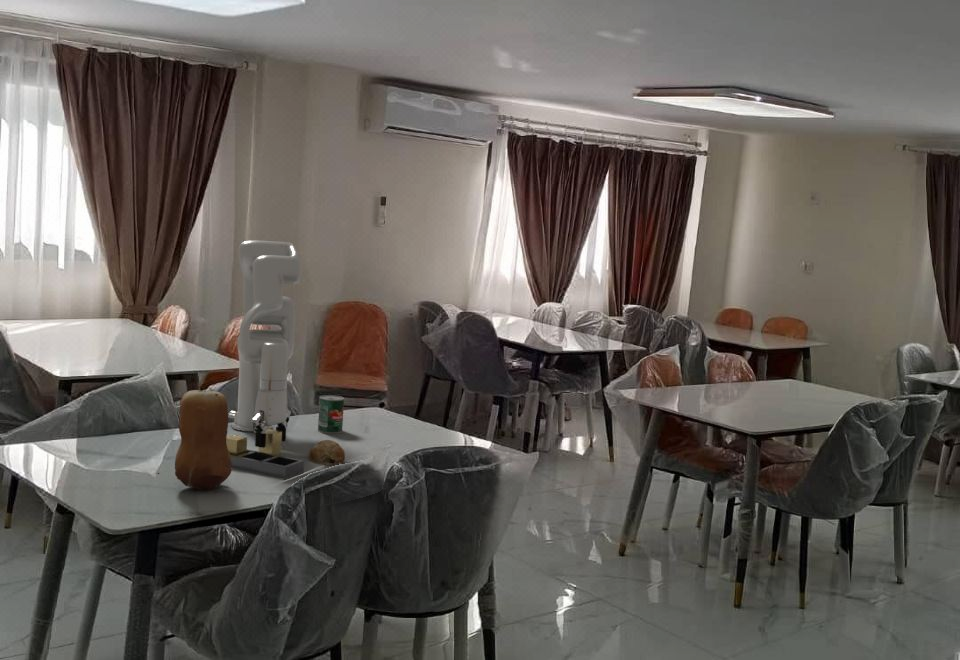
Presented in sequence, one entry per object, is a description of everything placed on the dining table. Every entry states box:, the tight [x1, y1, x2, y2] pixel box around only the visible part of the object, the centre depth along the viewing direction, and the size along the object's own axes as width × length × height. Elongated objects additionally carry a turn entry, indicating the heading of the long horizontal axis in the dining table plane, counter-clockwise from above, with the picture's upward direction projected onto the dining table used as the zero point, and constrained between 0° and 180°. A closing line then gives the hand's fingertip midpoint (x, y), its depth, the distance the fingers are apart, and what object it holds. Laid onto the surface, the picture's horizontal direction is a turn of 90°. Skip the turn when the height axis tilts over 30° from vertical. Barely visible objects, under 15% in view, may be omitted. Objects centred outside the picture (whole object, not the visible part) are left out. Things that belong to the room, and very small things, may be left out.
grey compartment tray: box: [230, 448, 305, 481], centre depth 267 cm, size 24×8×4 cm, turn 66°
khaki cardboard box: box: [226, 434, 248, 456], centre depth 269 cm, size 4×4×7 cm
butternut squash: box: [174, 389, 232, 491], centre depth 244 cm, size 14×13×25 cm
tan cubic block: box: [258, 428, 282, 455], centre depth 282 cm, size 4×4×7 cm
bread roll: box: [308, 439, 346, 466], centre depth 280 cm, size 10×10×8 cm
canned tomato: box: [317, 394, 345, 434], centre depth 316 cm, size 8×8×11 cm
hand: (270, 443), depth 281 cm, fingers open, 9 cm apart
